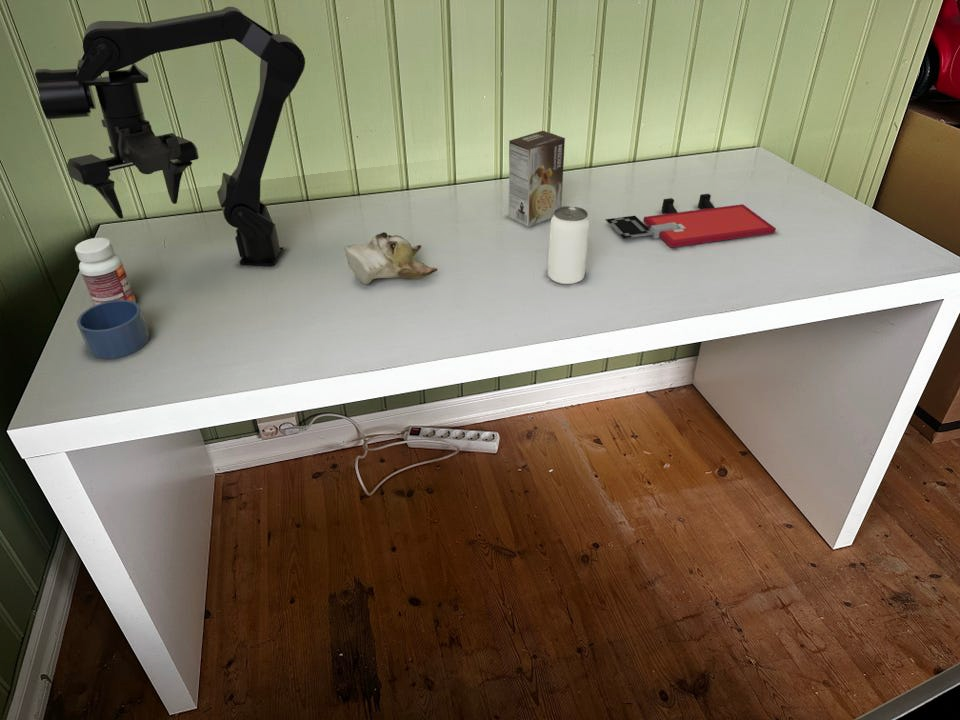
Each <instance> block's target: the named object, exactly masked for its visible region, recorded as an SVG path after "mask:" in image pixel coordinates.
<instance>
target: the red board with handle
mask: <svg viewBox="0 0 960 720" xmlns="http://www.w3.org/2000/svg"><path fill="white" fill-rule="evenodd" d="M711 197H712V195H711V194H710V193H703V194H700V195H699V200H698V205H697V208H698V209H695V210H687V211H679V212H678V211H677V209H676V207H675V206H674V203H675V199H674V198H673V197H669V198H663V201H662V206H661V211H660V212H661V214H656V215H647V216H643V220H642V221H641V220H640V219H639V217H637V216H636V215H627V216H621V217H619V216H618V217H613V218H605V219H604V220H605V221H606V222H607V223H608V224H609V226H611V227H612V228H613V229H614V231H616V232H617V234H619V236H621V238H622V239H625V240H626V239H631V238H639V237H647V236H650V237H651V238H652V239H653V240H656V239H661V240H662V241H663V242H664V243H666V244H667V246H669V248H677V247H683V246H691V245H698V244H705V243H713V242H720V241H726V240H734V239H741V238H749V237H755V236H762V235H770V234H775V233H776V230H777V228H776V227H775V226H773V225H772V224H770V223H769V222H768V221H767V220H765V219H764V218H762V217H761V216H760V215H758V214H757V213H756V212H754V211H753V210H752V209H750V208H749V207H748V206H747V205H744V204H733V205H726V206H718V207H715V206H714V204H713V203H712V201H711Z"/></svg>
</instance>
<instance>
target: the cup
mask: <svg viewBox="0 0 960 720" xmlns="http://www.w3.org/2000/svg"><path fill="white" fill-rule="evenodd" d="M76 324H77V328H78V330H79V332H80V334H81V336H82V339H83V341H84V343H85V346H86V348H87V350H88V352H89V353H90V355H91V356H92V357H95V358H97V359H102V360H112V359H119V358H123V357H126V356H129V355H132V354H135V353H136V352H138V351H139V350H141V349H142V348H144V347H145V346H146V345H147V343H148V342H149V340H150V331H149V328H148V326H147V323H146V320H145V318H144V314H143V312H142V309H141V307H140V305H139V304H138V303H137V302H136V301H135V302H133V301H129V300H113V301H107V302H104V303H100V304H97V305H95V306H94V305H92V306H91V307H89V308H87V309H86V310H84V311H83V312H82V313H81V314H79V316H78V318H77V320H76Z"/></svg>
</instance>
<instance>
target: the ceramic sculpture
mask: <svg viewBox="0 0 960 720" xmlns="http://www.w3.org/2000/svg"><path fill="white" fill-rule="evenodd" d="M421 249H422V245H421V244H418V245H415V246H412V245H411V243H410V242H409V241H408V240H407V239H405V238H404V237H403V236H401V235H398V234H395V235H391V234H388V233H387V232H383V231H382V232H381V233H377V234H376V235H375V236H373V237H372V238H371V240H370V242H369V243H368V244H365V245H357V244H351V245H345V246H344V252H345V257H346V261H347V264H348V266H349V268H350V269H351V271H352V272H353V274H354V276H355V279H356V280H357V281H359V282H360V283H362V284H363V285H366V286H367V285H369V284H370V283H371V282H372V281H373V280H374V279H396V278H397V279H398V278H405V279H411V280H418V279H421V278H424V277H427V276H429V275H431V274H433V273H435V272H437V271H438V268H436V267H431V266H428V265H426V264H425V263H423V262H419V261H415V260H414V257H415V256H416V255H417V254H418V253H419V251H420V250H421Z"/></svg>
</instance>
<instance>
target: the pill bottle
mask: <svg viewBox="0 0 960 720" xmlns="http://www.w3.org/2000/svg"><path fill="white" fill-rule="evenodd" d="M74 251H75V253H76V257H77V259H78V260H79V261H80V262H79V265H78V268H79V273H80V275H81V277H82V279H83V281H84V284H85V286H86V289H87V291H88V293H89V296H90V298H91V300H92V303H93V306H95V305H97V304H100V303H104V302H107V301H113V300H129V301H133V302H135V303H136V296H135V294H134V291H133V289H132V286H131V283H130V280H129V277H128V275H127V272H126V269H125V267H124V264H123V261H122V259H121V257H120V256H119V254H117V253H115V250H114V247H113V245H112V242H111V240H110V239H108V238H106V237H91V238H89V239H85V240H82V241H81V242H79V243H77V244H76V245H75V246H74Z"/></svg>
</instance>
